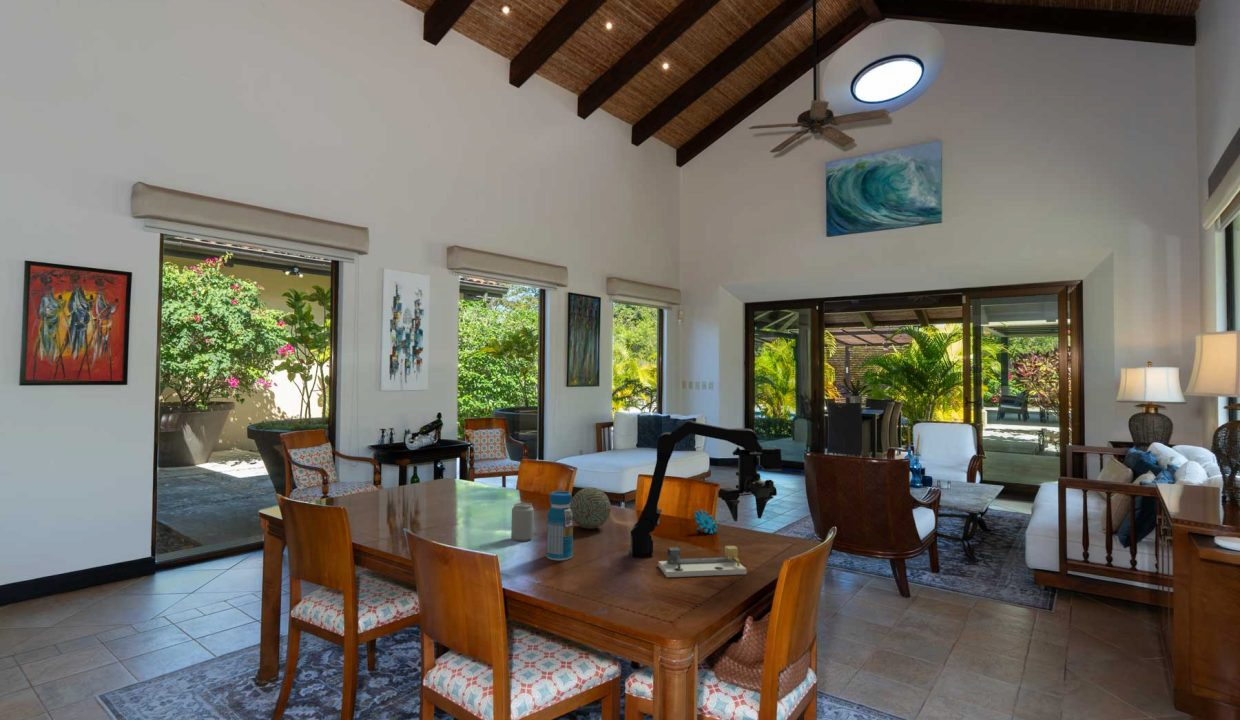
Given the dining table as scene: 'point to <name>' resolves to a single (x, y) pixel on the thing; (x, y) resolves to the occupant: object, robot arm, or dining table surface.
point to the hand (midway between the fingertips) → (747, 519)
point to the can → (522, 521)
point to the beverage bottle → (560, 527)
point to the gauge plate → (701, 569)
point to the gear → (705, 522)
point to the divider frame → (675, 559)
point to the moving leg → (732, 553)
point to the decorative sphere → (590, 508)
